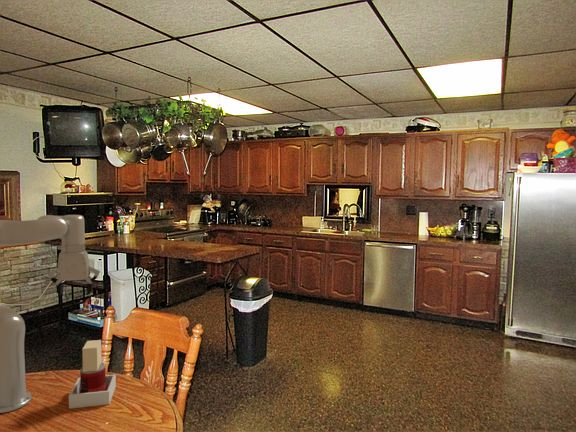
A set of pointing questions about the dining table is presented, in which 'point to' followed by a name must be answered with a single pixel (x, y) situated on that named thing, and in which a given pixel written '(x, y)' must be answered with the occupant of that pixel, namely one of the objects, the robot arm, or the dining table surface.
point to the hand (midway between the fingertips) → (74, 294)
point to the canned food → (93, 380)
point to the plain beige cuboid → (92, 355)
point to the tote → (92, 394)
